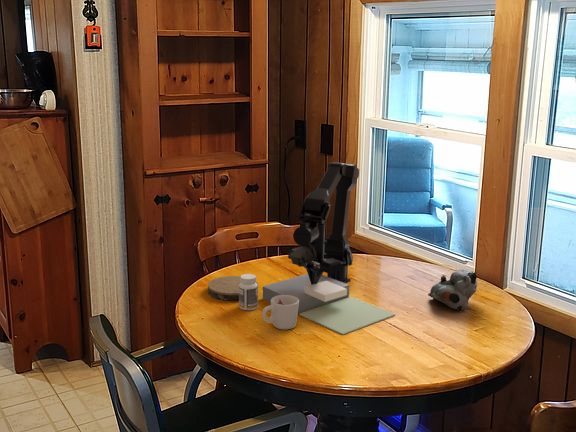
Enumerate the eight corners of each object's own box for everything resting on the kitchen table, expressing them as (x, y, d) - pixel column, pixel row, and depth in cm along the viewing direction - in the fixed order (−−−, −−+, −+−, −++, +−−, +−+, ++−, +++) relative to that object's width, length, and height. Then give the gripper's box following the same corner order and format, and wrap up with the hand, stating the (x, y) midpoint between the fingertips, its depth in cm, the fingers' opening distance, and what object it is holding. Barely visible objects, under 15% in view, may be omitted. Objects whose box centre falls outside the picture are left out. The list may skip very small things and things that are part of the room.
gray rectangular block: (314, 283, 230) (314, 271, 229) (348, 296, 219) (349, 285, 218) (262, 298, 216) (262, 286, 215) (296, 314, 205) (297, 301, 204)
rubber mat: (351, 297, 218) (351, 296, 218) (395, 315, 205) (395, 314, 205) (299, 315, 204) (299, 313, 204) (343, 335, 191) (343, 333, 191)
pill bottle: (259, 304, 212) (259, 273, 209) (256, 311, 206) (256, 280, 204) (240, 303, 212) (240, 272, 210) (237, 310, 207) (237, 279, 204)
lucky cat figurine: (427, 294, 222) (449, 256, 221) (461, 314, 219) (483, 275, 218) (425, 297, 207) (448, 257, 206) (462, 318, 205) (485, 277, 204)
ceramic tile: (326, 286, 216) (326, 280, 216) (346, 295, 209) (346, 288, 209) (304, 292, 210) (304, 286, 210) (325, 301, 204) (325, 295, 203)
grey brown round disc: (259, 285, 229) (259, 276, 228) (255, 303, 213) (256, 294, 212) (211, 283, 229) (211, 275, 228) (204, 301, 214) (204, 292, 213)
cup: (268, 336, 190) (269, 308, 188) (256, 325, 196) (256, 298, 194) (303, 329, 194) (304, 302, 192) (290, 318, 201) (290, 293, 199)
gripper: (275, 235, 212) (274, 283, 216) (316, 249, 198) (315, 301, 202) (302, 229, 219) (301, 276, 223) (344, 243, 205) (342, 292, 209)
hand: (313, 286), depth 214 cm, fingers closed
